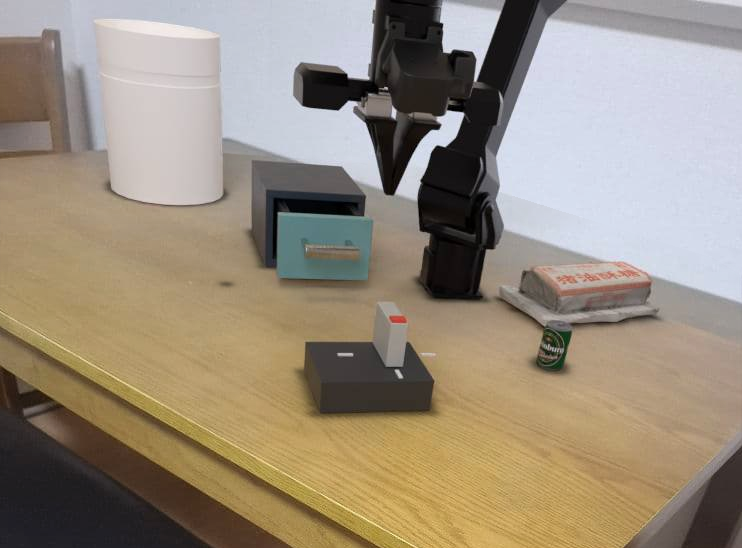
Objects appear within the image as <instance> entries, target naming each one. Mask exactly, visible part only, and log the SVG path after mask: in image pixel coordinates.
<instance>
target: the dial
mask: <svg viewBox="0 0 742 548" xmlns="http://www.w3.org/2000/svg"><path fill="white" fill-rule="evenodd" d="M374 315H375V316H374V325H373V326H374V328H373V333H374V334H373V336H372V342H373V345H374V346H375V348H376V350H377V352H378V354H379V355H380V357H381V359H382V361H383V362H384V364H385V366H386V367H403V362H404V355H405V347H406V342H407V341H408V340H407V339H408V331H409V323H408V320H407V318H406V316H405V315H403V314H402V312H401V311H400V309H399V308H398V306H397V304H395V302H394V301H376V305H375V314H374Z"/></svg>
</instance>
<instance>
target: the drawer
mask: <svg viewBox="0 0 742 548" xmlns="http://www.w3.org/2000/svg"><path fill="white" fill-rule="evenodd" d="M373 229H374V219H373V218H372V217H371V216H364V217H362V216H361V215H360V213H359V212H358V211H357V209H356V208H355V207H354V205H353V204H352V203H351V202H336V201H319V200H301V199H284V198H274V208H273V248H274V250H275V252H276V255H277V267H276V276H277V278H278V279H298V280H299V279H300V280H334V281H368V280H369V270H370V261H371V250H372V238H373Z"/></svg>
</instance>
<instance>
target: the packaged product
mask: <svg viewBox="0 0 742 548" xmlns="http://www.w3.org/2000/svg"><path fill="white" fill-rule="evenodd" d="M652 283H653V279H652V278H651V276H650V275H649V273H648V272H647V271H643V269H640V268H638V267H636V266H634V265H632V264H631V263H628V262H626V261H616V260H615V261H606V262H604V261H602V262H601V261H600V262H599V261H598V262H584V263H583V262H582V263H569V264H568V263H567V264H553V265H552V264H551V265H538V266H537V265H535V266H529V267H526V268H524V269H523V270H522V272H521V276H520V283H515V284H514V283H511V284H500V285H499V298H500V299H502V300H503V301H505V302H507V303H508V304H510V305H512V306H513V307H515V308H516V309H519V310H520V311H522V312H523V313H525V314H526V315H529V316H530V317H532V318H533V319H535V320H536V321H537V322H538V323H539V324H540V325H542V327H544V328H545V326H546V325H547V324H546V323H547V322H548V321H550V320H559V321H563V322H566V323H568V324H570V325H573V324H585V323H601V322H609V323H616V322H620V321H622V320H625V319H629V318H637V317H646V316H656V315H657V314H658V313H659V312H660V307H658V306H657V305H654V304H652V303H651V302H649V301H648V299H650V296H651V294H652V289H651V287H652Z"/></svg>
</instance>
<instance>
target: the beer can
mask: <svg viewBox="0 0 742 548" xmlns="http://www.w3.org/2000/svg"><path fill="white" fill-rule="evenodd" d="M546 324H547V325H546V326H545V327H544V329H543V333H542V335H541V340H540V345H539V348H538V352H537V357H536V363H537V364H538V366H539V367H541V368H542V369H544V370H547V371H558V370H561V369H562V368H563V367H564V365H565V362H566V358H567V353H568V350H569V347H570V343H571V339H572V335H573V326H572V324H568V323H566V322H563V321H559V320H550V321H548V322H547V323H546Z"/></svg>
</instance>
